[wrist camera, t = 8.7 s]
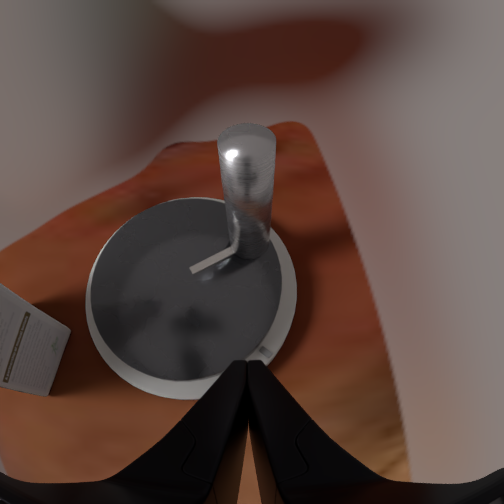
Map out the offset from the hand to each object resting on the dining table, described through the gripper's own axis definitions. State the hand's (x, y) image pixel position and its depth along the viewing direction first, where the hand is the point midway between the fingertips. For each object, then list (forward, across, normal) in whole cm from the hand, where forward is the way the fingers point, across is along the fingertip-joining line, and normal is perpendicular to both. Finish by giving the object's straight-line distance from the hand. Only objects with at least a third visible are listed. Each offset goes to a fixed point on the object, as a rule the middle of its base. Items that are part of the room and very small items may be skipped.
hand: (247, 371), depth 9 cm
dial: (+10, +4, +1) cm, 11 cm away
